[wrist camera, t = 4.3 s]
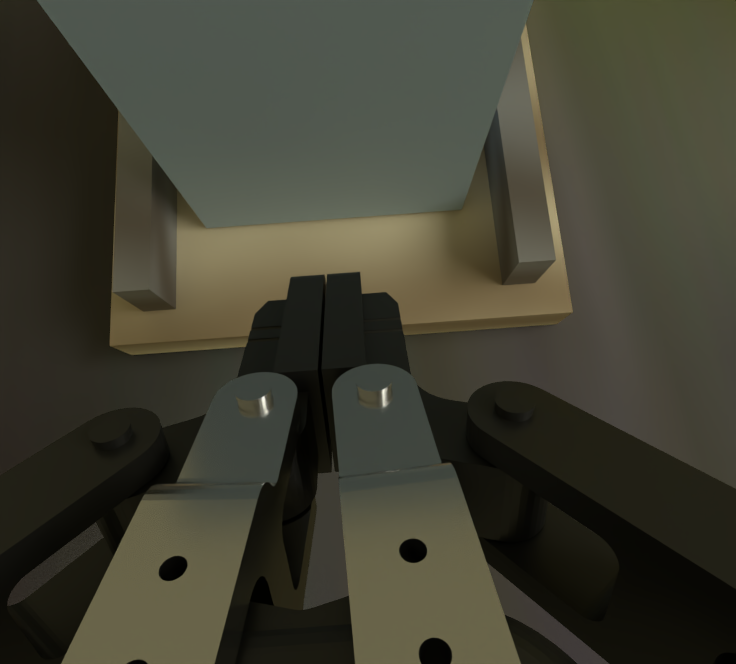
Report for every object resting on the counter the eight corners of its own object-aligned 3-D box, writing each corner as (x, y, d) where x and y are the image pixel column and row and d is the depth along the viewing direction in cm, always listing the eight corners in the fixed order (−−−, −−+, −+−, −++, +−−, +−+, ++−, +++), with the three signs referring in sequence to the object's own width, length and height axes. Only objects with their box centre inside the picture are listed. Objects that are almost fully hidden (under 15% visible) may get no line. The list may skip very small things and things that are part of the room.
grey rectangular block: (461, 209, 17) (607, -217, 6) (206, 227, 17) (-87, -166, 6) (445, 71, 18) (544, -491, 7) (205, 88, 18) (-44, -449, 7)
